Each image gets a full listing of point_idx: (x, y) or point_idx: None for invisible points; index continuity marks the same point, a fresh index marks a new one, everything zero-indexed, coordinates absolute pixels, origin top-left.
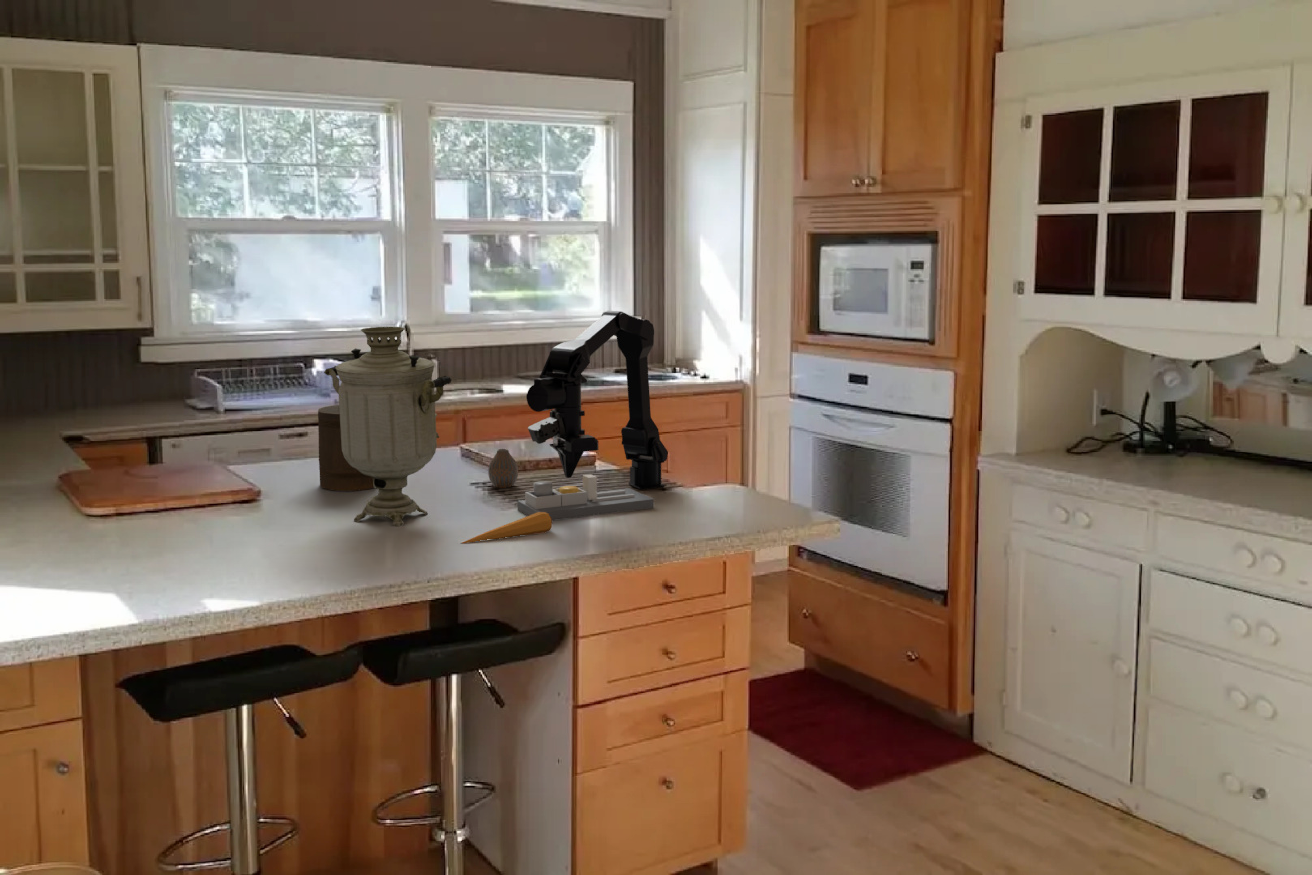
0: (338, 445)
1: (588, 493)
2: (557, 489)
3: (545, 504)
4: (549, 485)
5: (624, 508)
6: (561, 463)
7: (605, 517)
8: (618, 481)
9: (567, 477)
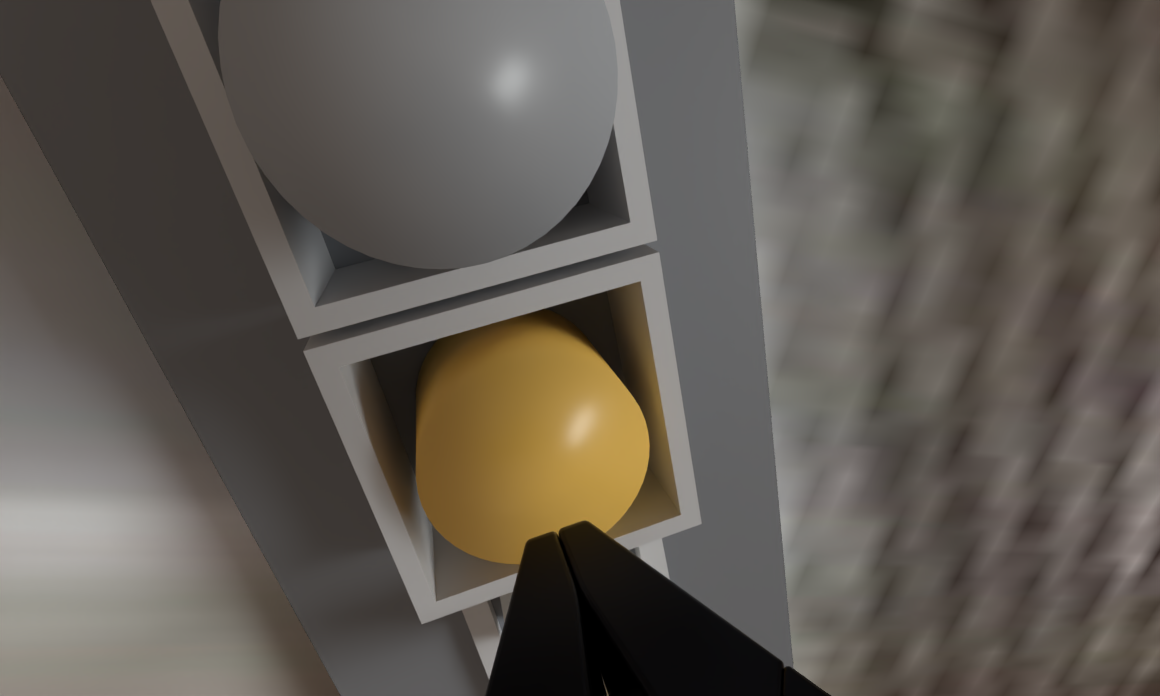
0: None
1: (503, 608)
2: (646, 328)
3: None
4: (280, 192)
5: None
6: (742, 646)
7: (216, 615)
8: (1088, 661)
9: (526, 549)
